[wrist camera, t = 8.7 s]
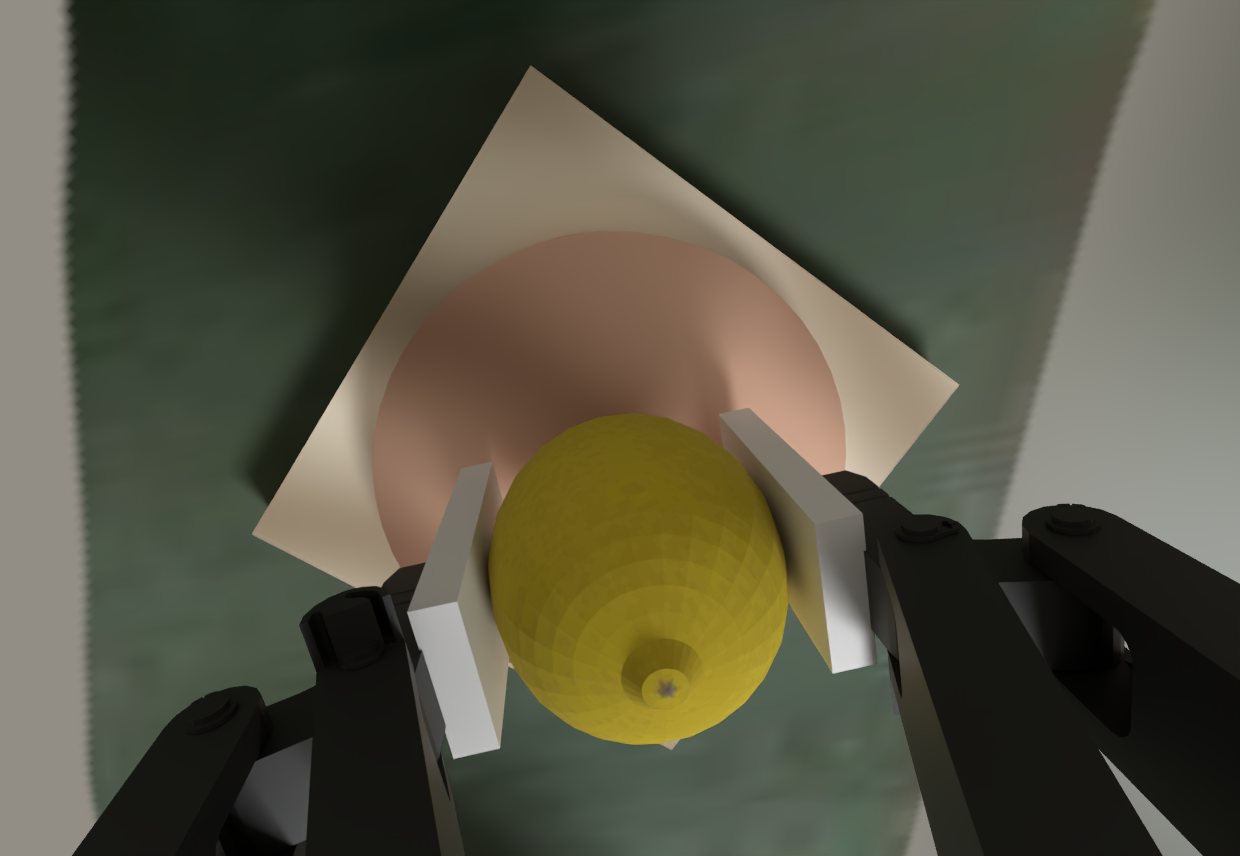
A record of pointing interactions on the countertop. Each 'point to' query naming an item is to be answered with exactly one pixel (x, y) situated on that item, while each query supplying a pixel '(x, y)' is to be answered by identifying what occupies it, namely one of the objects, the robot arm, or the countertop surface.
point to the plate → (582, 342)
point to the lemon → (638, 579)
